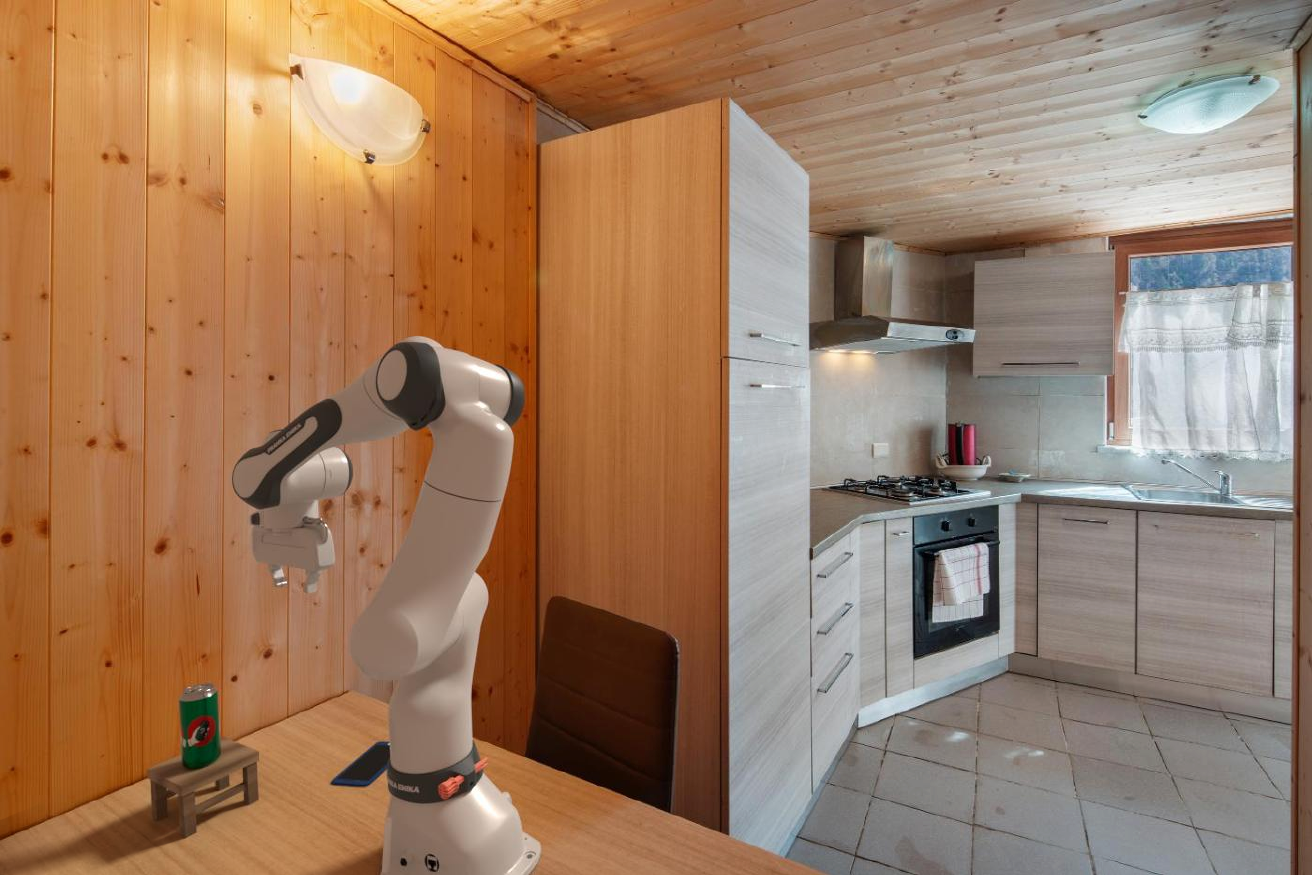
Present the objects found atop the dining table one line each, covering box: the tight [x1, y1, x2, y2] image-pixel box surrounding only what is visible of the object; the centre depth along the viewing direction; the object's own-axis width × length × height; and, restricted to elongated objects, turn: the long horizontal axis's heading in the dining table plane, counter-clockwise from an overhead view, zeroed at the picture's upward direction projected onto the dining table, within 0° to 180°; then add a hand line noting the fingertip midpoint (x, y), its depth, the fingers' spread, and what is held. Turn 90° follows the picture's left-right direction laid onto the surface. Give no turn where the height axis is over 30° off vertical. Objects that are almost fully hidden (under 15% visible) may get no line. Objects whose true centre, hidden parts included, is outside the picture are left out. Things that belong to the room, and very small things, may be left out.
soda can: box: [178, 682, 221, 769], centre depth 99 cm, size 5×5×12 cm
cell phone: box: [330, 740, 390, 788], centre depth 112 cm, size 7×14×1 cm, turn 170°
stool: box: [146, 736, 260, 839], centre depth 100 cm, size 11×11×8 cm
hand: (294, 589), depth 115 cm, fingers open, 8 cm apart
